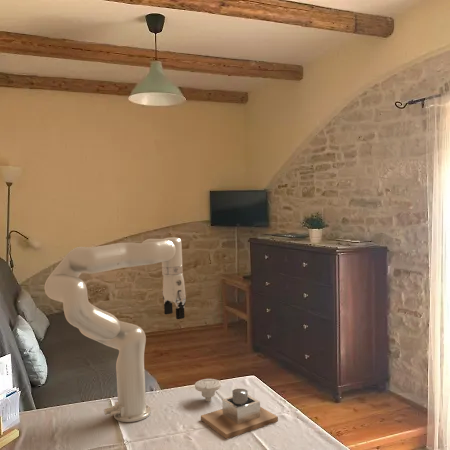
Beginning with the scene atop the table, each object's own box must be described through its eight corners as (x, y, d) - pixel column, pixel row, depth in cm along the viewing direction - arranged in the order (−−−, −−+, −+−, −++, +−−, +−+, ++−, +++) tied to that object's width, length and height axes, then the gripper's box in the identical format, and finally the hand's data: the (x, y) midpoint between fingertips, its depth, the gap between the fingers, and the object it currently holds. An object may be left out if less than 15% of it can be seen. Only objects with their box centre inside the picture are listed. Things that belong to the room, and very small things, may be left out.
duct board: (226, 439, 148) (225, 418, 148) (200, 419, 162) (200, 400, 161) (277, 421, 159) (277, 401, 159) (249, 404, 172) (249, 386, 172)
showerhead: (192, 386, 172) (197, 376, 182) (193, 406, 173) (197, 394, 183) (218, 386, 171) (221, 376, 181) (219, 406, 172) (222, 395, 182)
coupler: (246, 419, 158) (245, 395, 157) (231, 417, 159) (230, 393, 159) (249, 412, 163) (248, 389, 162) (234, 410, 164) (234, 387, 163)
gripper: (192, 272, 175) (194, 319, 176) (171, 267, 190) (173, 310, 191) (173, 274, 171) (175, 322, 172) (153, 269, 186) (155, 313, 186)
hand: (174, 316), depth 181 cm, fingers open, 9 cm apart
